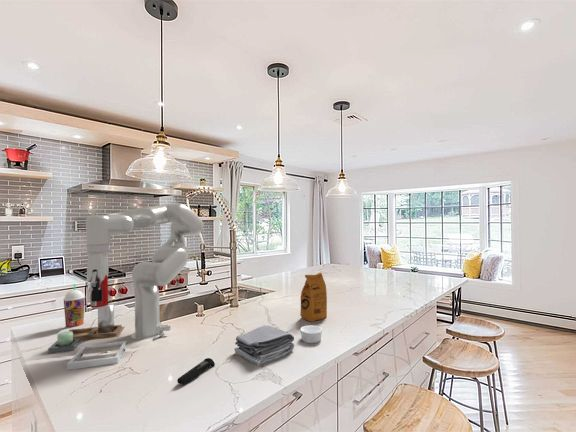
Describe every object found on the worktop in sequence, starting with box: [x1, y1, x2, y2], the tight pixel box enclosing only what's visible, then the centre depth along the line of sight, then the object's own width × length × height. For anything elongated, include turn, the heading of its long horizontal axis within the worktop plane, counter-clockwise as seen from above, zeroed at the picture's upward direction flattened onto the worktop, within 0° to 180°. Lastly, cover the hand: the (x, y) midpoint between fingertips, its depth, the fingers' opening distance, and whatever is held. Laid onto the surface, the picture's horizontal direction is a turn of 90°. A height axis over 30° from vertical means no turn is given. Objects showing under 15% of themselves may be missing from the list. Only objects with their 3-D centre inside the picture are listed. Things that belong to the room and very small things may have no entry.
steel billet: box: [97, 302, 115, 333], centre depth 133 cm, size 6×6×12 cm
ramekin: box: [300, 324, 323, 344], centre depth 128 cm, size 9×9×4 cm
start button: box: [56, 330, 73, 346], centre depth 119 cm, size 5×5×4 cm
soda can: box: [89, 274, 109, 310], centre depth 113 cm, size 6×6×12 cm
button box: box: [47, 338, 82, 354], centre depth 119 cm, size 8×8×3 cm
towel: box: [233, 324, 295, 367], centre depth 116 cm, size 15×18×8 cm
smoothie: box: [63, 283, 86, 328], centre depth 145 cm, size 8×8×20 cm
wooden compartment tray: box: [68, 324, 125, 342], centre depth 132 cm, size 22×13×3 cm, turn 107°
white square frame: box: [67, 340, 127, 370], centre depth 113 cm, size 15×15×2 cm
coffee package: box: [299, 272, 328, 323], centre depth 155 cm, size 10×12×22 cm
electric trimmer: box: [176, 357, 216, 385], centre depth 100 cm, size 4×16×3 cm, turn 156°
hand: (99, 298), depth 113 cm, fingers closed on soda can, 5 cm apart
